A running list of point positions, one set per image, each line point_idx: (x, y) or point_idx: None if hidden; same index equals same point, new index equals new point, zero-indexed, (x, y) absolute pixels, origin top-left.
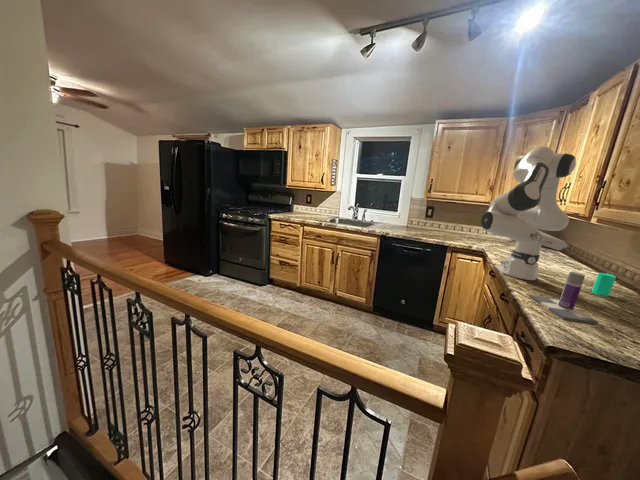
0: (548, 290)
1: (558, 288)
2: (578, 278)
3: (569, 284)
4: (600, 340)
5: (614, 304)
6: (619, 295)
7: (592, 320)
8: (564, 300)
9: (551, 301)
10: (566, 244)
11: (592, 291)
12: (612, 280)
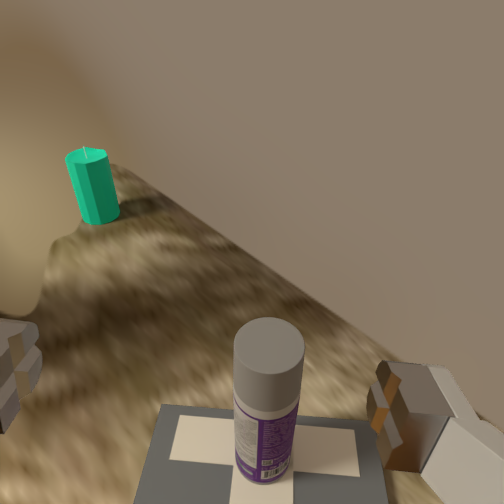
0: (56, 356)
1: (45, 298)
2: (300, 369)
3: (277, 416)
4: None
5: (174, 237)
6: (114, 184)
7: (370, 437)
8: (276, 465)
9: (201, 475)
10: (450, 386)
11: (88, 221)
12: (108, 166)
